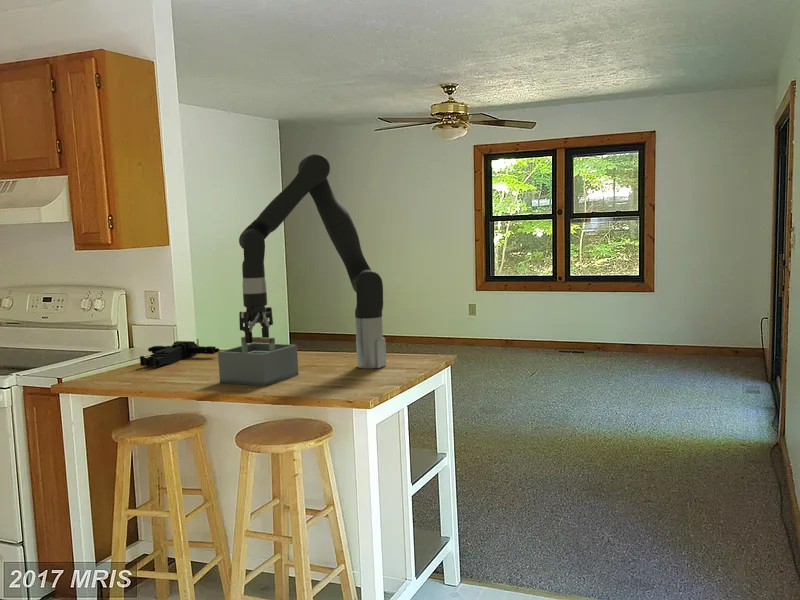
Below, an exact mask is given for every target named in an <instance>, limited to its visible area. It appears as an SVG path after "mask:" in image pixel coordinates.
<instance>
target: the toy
mask: <svg viewBox="0 0 800 600" xmlns="http://www.w3.org/2000/svg"><path fill="white" fill-rule="evenodd" d="M147 351H148V352H150V353H151V354H150V355H149V356H148V357H145V356H144V355H142V356H141V355H140V356H139V362H140V366H141V367H160V366H162V365H172V364H176V363H178V362H179V361H180V360H181V359H183V360H184V359H185V360H186V359H191V358H193V357H194V356H195V355H200V354H201V355H202V354H204V355H213V354H214V355H215V354H218V352H219V351H221V350H220V348H219V347H216V346H213V345H211V346H209V345H208V346H201V345H198V344H197V343H196V341H189V340H188V341H187V340H177V341H173V344H171V345H154V346H151V347H148V349H147Z"/></svg>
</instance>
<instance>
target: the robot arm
mask: <svg viewBox="0 0 800 600" xmlns="http://www.w3.org/2000/svg"><path fill="white" fill-rule="evenodd" d="M297 167H298V169H297V171H298V172H297V174H296V176H295V177H294V178H293V180H292V181H290V182H289V184H288V185H287V186H286V187H285V188H284V189H283V190H282V191H281V192H279V194H277V195H276V196H275V197H274V198H273V199H272V200H271V201H270V202H269V204H268V205H267V206H266V207H265V208H264V209H263V210H262V212H260V214H259V215H258V216H257V217H256V218H255V220H253V221H252V222H250V224H249V225H248V226H247V227H246V228H245V229H244V230H243V231H241V233H240V235H239V238H238V242H239V246H240V248H242V250H243V262H242V264H241V266H242V267H241V269H242V299H243V301H242V302H243V307H244V308H246V310H245V311H239V313H238V314H239V315H238V317H239V330H240V331H243V332H244V337H245V341H246V343H247V344H251V343H253V339H252V337H253V331H252V330H253V328H254V326H256V324H260V326H261V327H262V328H261V337H267V338H270V330H269V329H270V327H271V326H273V325H274V321H273V320H274V318H273V311H272V310H273V309H272V307H271V306H268V293H267V283H266V282H267V281H266V277H265V276H266V275H265V274H266V272H265V270H266V269H265V256H266V255H265V253H266V252H265V251H266V249H265V248H266V243H265V242H266V241H265V239H267V237H268V236H269V235H270V234H271V233H273V232H274V231H276V230H277V229H278V228H279V227H280V225H282V224H283V222H284V221H285V220H286V219H287V217H288V216H290V214H291V213H292V211H293V210H294V209H295V208H296V207H297V205H298V204H299V203H300V202H301V201H302V200H303V199H304V197H306V195H308V193H309V195H310V196H311V198H312V200H313V202H314V205H315V207H316V209H317V212H318V214H319V216H320V218H321V221H322V223H323V226H324V228H325V231H326V232H327V235H328V237H329V238H330V240H331V242H332V245H333V246H334V248H335V250H336V252H337V254H338V255H339V258H340V259H341V260H342V262H343V264H344V266H345V269H346V272H347V275H348V278H349V281H350V284H351V286H352V289H353V291H354V292H355V293H356V294H355V295H356V308H355V309H354V316H355V339H356V340H355V343H356V362H357V363H356V364H357V367H358V368H360V369H368V370H369V369H380V368H383V367H385V366H387V345H386V344H387V342H386V338H385V337H384V333H383V332H384V329H383V327H384V326H383V310H384V284H383V283H384V282H383V279H382V277H381V276H380V274H379V273H378V272H376V271H374V270H372V269H371V267H370V266H369V264H368V262H367V260H366V259H365V256H364V254H363V251H362V247H361V242H360V239H359V238H360V237H359V234H358V232H357V228H356V226H355V224H354V222H353V219H352V217H351V216H350V213H349V212H348V210H347V209H346V208H345V206H344V204H343V203H342V202H341V201H340V200H339V198H338V197H337V196H336V195H335V193H334V192H333V189H332V188H331V185H330V182H329V180H328V176H329V174H330V171H331V166H330V162H329V160H328V159H327V157H325V156H324V155H322V154H318V153H317V154H316V153H314V154H311V155H308V156H306V157H304V158H303V159H302V160H301V161H300V162H299V164H298V166H297Z"/></svg>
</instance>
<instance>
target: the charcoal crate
mask: <svg viewBox="0 0 800 600" xmlns="http://www.w3.org/2000/svg"><path fill="white" fill-rule="evenodd" d="M247 346H248V352H252V351H269V343H247ZM298 359H299V358H298V345H297V344H286V343H285V344H283V343H275V350H274V351H271V352H270V351H269V352H267V353H264V354H259V353H242V345H240V346H239V345H238V346H236V347H230V348H228V349H224V350H220V351H219V352H217V361H218V373H219V383H221V384H234V385H244V386H245V385H246V386H259V387H267V386H270V385H273V384H275V383H278V382H282V381H284V380H287V379H290V378H293V377H295V376H296V377H297V376H298V375H299V360H298Z"/></svg>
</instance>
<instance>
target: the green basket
mask: <svg viewBox="0 0 800 600" xmlns="http://www.w3.org/2000/svg"><path fill="white" fill-rule="evenodd" d="M252 339H253V343H267V344H269V351H270V352H271V351H274V350H275V344H276V339H275V337H269V338H267V337H262V336H252ZM240 342H241V346H242V353H259V354H264V353H267V352H269V351H252V352H248V346H247V344H248V343H246V341H245V336H242V337H241V338H240Z"/></svg>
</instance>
